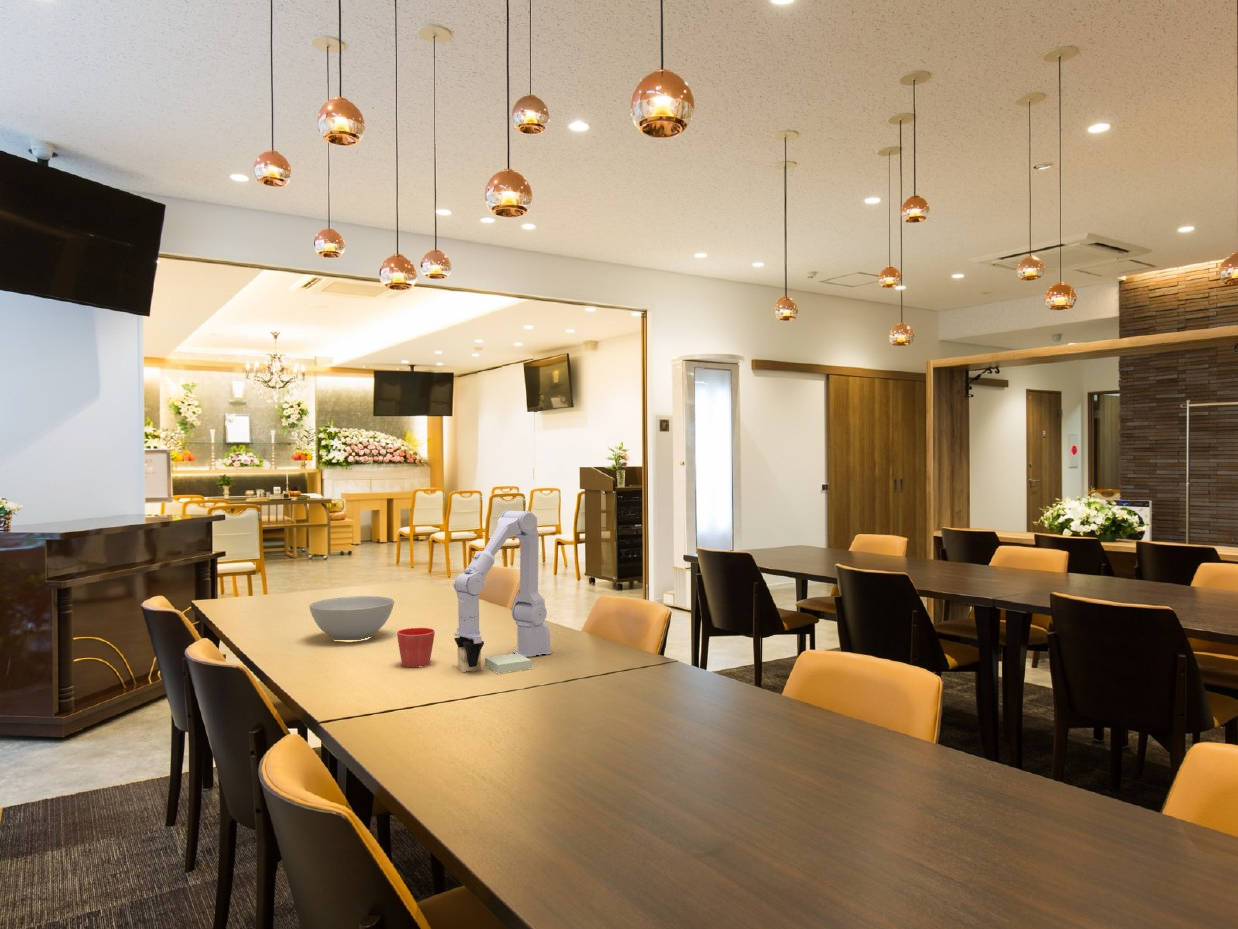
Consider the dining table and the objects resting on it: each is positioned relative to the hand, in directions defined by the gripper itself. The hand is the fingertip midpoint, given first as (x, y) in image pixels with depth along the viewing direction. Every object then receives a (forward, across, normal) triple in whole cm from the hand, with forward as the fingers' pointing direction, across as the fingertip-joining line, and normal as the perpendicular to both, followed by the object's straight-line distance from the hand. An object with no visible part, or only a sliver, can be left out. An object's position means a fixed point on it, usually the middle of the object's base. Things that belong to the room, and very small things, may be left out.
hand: (469, 664), depth 229 cm
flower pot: (+2, -14, -11) cm, 18 cm away
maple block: (+1, 0, 0) cm, 1 cm away
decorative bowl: (+2, -60, -19) cm, 63 cm away
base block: (+2, +4, +10) cm, 11 cm away
